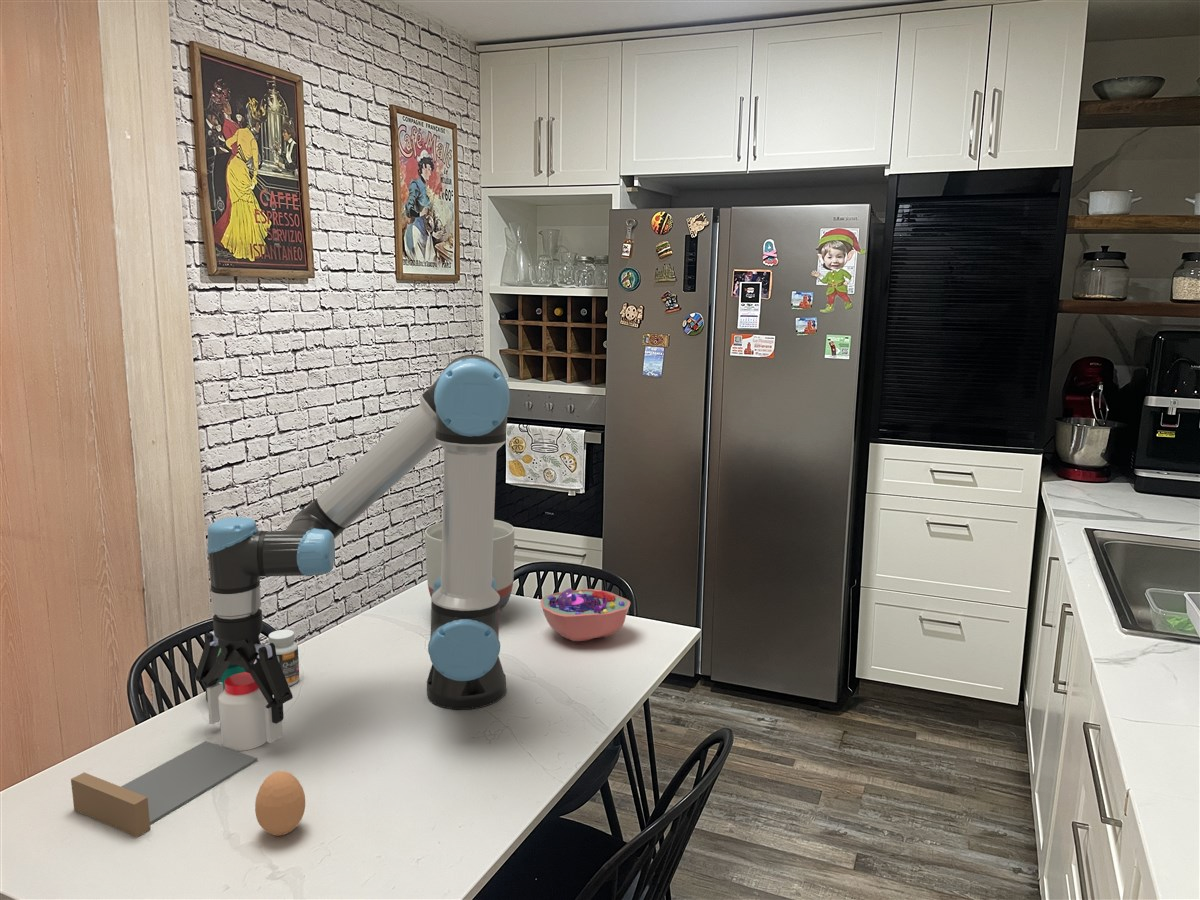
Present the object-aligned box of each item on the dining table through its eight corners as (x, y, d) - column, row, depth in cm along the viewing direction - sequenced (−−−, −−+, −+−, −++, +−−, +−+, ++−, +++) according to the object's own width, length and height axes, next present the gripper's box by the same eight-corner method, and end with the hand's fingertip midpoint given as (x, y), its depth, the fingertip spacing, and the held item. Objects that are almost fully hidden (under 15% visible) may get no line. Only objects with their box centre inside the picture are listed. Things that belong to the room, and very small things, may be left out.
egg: (250, 847, 118) (245, 786, 116) (266, 818, 125) (262, 760, 123) (299, 846, 118) (295, 785, 117) (312, 817, 125) (309, 759, 123)
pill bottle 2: (289, 689, 165) (286, 641, 163) (262, 686, 166) (259, 638, 164) (305, 677, 170) (302, 629, 168) (279, 674, 171) (276, 627, 169)
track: (261, 761, 139) (259, 733, 139) (137, 837, 120) (134, 804, 119) (201, 741, 145) (199, 714, 145) (74, 810, 126) (70, 779, 125)
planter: (414, 630, 194) (411, 539, 190) (444, 599, 214) (442, 516, 210) (501, 637, 191) (500, 544, 187) (524, 605, 210) (523, 520, 206)
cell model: (630, 653, 183) (631, 603, 181) (536, 652, 183) (536, 601, 181) (629, 623, 199) (629, 576, 197) (543, 622, 200) (543, 575, 198)
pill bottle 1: (230, 728, 150) (226, 669, 148) (276, 727, 151) (272, 668, 149) (214, 752, 142) (210, 690, 140) (262, 750, 143) (258, 688, 141)
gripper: (310, 616, 140) (317, 736, 144) (204, 592, 151) (212, 704, 155) (274, 632, 134) (282, 757, 137) (166, 605, 144) (176, 722, 148)
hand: (245, 729), depth 146 cm, fingers open, 13 cm apart
